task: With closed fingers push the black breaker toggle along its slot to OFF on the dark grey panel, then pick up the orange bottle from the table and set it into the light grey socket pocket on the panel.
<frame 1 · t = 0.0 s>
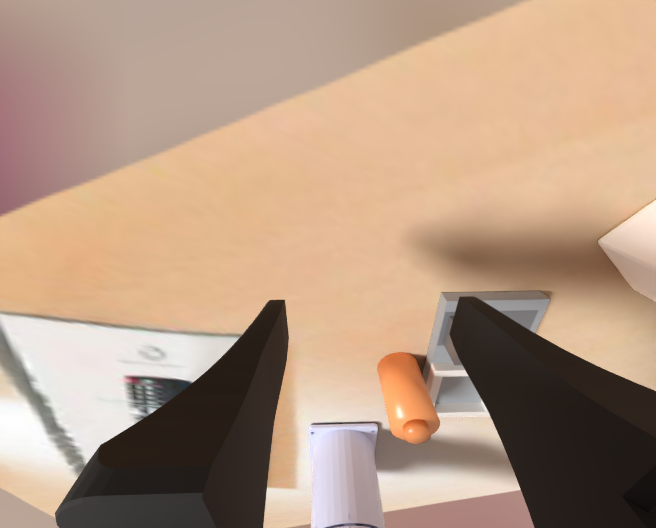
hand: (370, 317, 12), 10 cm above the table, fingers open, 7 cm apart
orange bottle: (397, 366, 28), on the table
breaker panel: (470, 351, 27), on the table
breaker toggle: (467, 340, 23), point 3 cm above the table, slide at 0.0 cm
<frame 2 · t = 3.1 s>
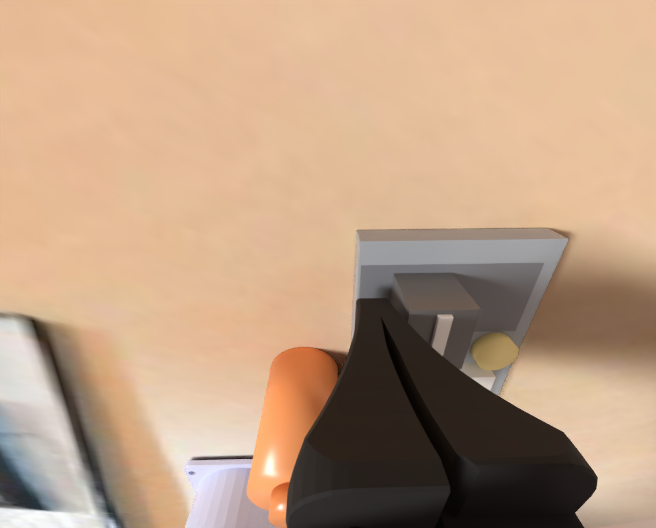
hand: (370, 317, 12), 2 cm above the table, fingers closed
orange bottle: (304, 371, 16), on the table
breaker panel: (426, 345, 16), on the table
breaker toggle: (427, 321, 11), point 3 cm above the table, slide at 1.0 cm, touching gripper
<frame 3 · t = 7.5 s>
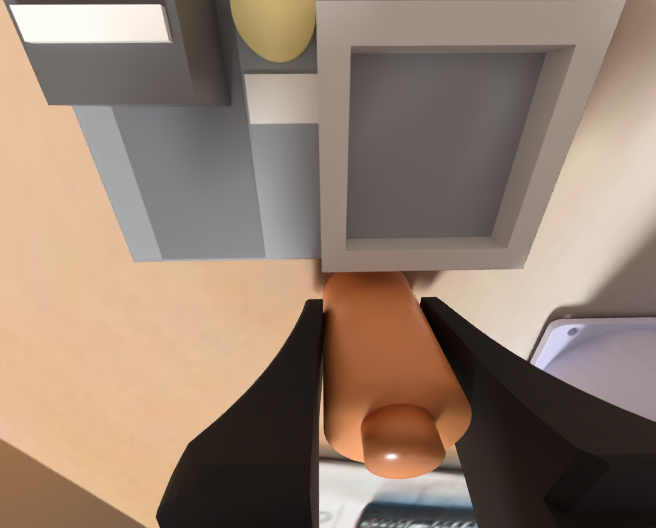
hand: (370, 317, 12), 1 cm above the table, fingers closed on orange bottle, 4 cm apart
orange bottle: (365, 297, 13), on the table, touching gripper
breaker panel: (319, 131, 9), on the table
breaker toggle: (135, 40, 6), point 3 cm above the table, slide at 4.5 cm
when the fingers open (5 cm above the table, at t = 9.8 s): orange bottle drops 2 cm, resting on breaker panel.
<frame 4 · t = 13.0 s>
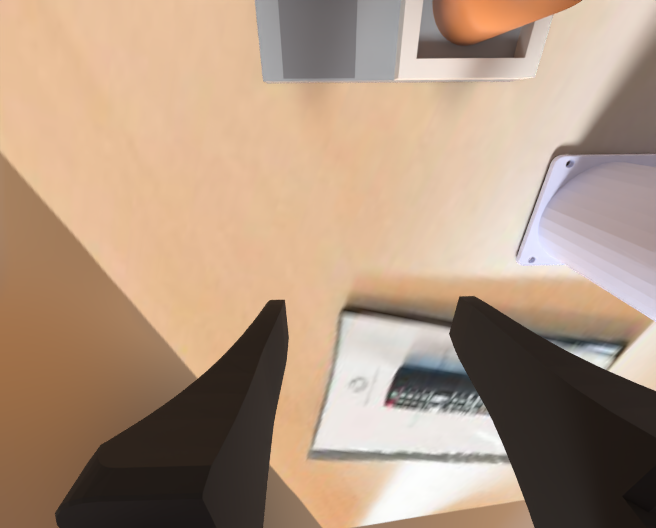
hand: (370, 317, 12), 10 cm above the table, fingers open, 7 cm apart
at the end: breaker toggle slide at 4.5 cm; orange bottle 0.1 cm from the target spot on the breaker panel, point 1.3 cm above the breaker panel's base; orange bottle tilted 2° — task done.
